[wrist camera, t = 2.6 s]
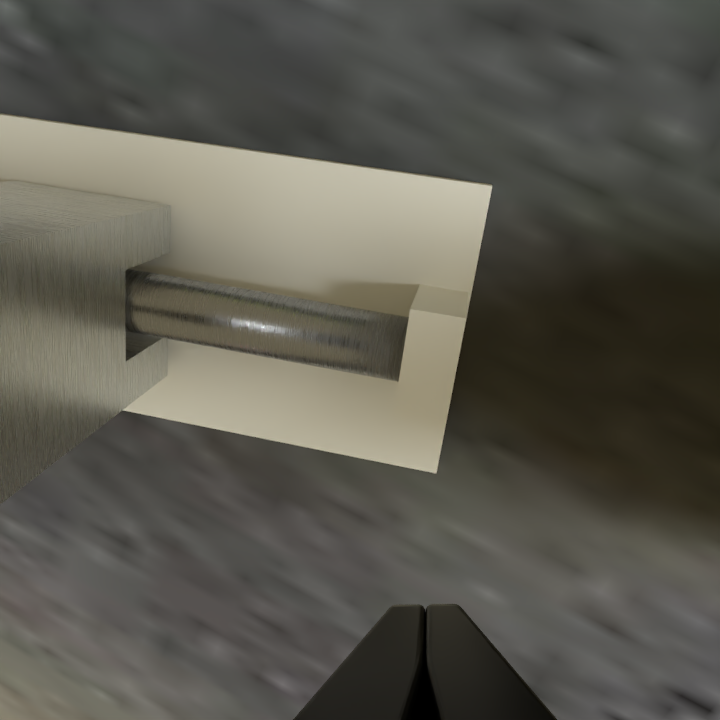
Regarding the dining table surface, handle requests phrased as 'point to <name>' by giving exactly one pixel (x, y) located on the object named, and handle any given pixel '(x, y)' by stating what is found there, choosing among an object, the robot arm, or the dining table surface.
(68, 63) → the dining table surface
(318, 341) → the steel pipe
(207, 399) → the base board
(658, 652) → the dining table surface
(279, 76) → the dining table surface
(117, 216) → the beige tall block
